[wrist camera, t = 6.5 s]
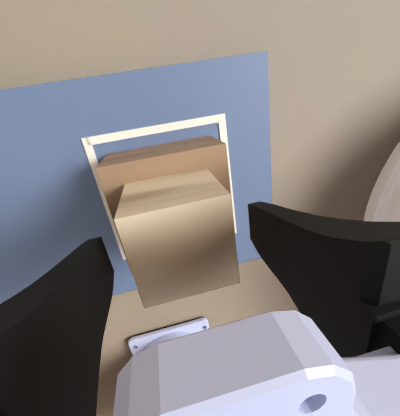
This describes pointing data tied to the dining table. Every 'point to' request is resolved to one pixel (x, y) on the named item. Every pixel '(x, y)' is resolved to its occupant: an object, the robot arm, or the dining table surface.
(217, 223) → the maple cube
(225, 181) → the walnut base
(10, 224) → the board
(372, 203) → the plate stack
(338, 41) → the dining table surface
